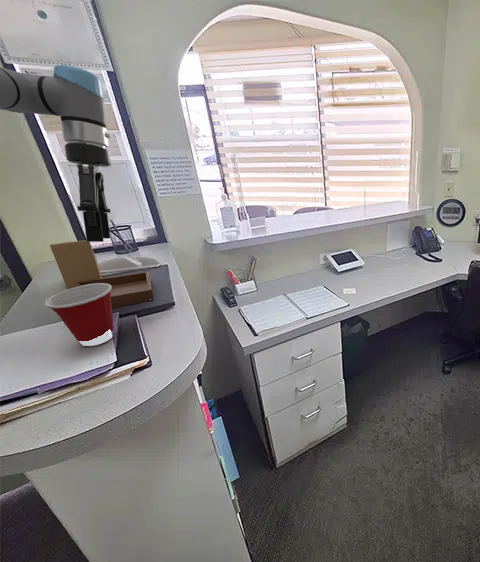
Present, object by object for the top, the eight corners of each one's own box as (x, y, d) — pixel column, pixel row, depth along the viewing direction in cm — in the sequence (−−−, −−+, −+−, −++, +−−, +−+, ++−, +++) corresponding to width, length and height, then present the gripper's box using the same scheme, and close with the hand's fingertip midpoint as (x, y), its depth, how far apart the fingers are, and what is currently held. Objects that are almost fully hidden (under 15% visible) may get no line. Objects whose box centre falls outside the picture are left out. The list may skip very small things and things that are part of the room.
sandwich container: (101, 271, 108) (87, 228, 102) (104, 285, 97) (89, 239, 91) (67, 276, 102) (50, 232, 96) (67, 292, 92) (49, 244, 86)
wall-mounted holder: (156, 255, 112) (85, 262, 104) (159, 267, 114) (90, 274, 105) (158, 251, 118) (91, 257, 109) (161, 262, 119) (95, 269, 110)
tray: (72, 315, 80) (67, 304, 78) (79, 292, 93) (76, 282, 91) (154, 299, 89) (151, 289, 88) (150, 280, 102) (148, 271, 101)
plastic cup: (63, 339, 70) (43, 290, 65) (123, 323, 77) (109, 278, 72) (63, 361, 63) (41, 308, 58) (129, 342, 69) (114, 293, 65)
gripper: (101, 137, 62) (114, 243, 66) (114, 157, 82) (123, 237, 86) (49, 130, 58) (66, 243, 62) (75, 152, 78) (87, 237, 82)
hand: (99, 240), depth 74 cm, fingers open, 13 cm apart
